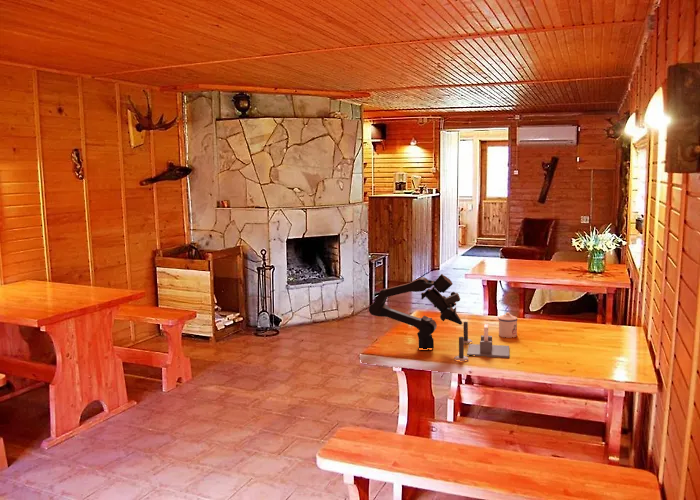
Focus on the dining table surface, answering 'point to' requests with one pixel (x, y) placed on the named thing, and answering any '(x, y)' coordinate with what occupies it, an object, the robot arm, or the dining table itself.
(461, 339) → the post
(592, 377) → the dining table surface
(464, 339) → the post
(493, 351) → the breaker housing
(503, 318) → the teacup with lid
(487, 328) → the block
